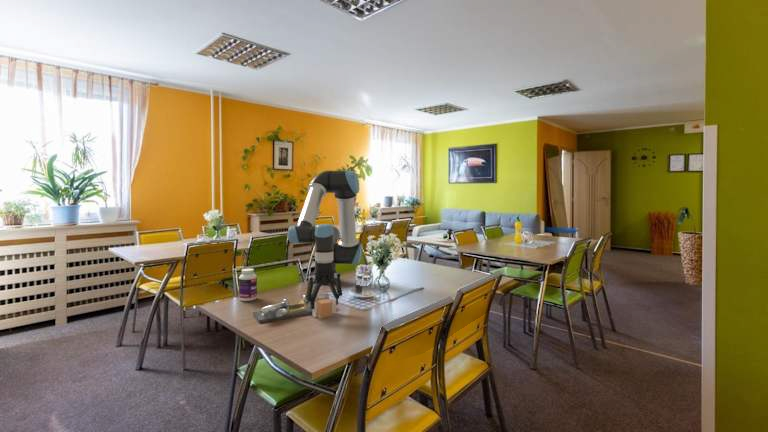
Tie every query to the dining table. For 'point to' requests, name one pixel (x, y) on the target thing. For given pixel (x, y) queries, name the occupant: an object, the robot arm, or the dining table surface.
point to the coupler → (324, 308)
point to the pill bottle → (247, 285)
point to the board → (287, 312)
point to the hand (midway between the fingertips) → (324, 314)
